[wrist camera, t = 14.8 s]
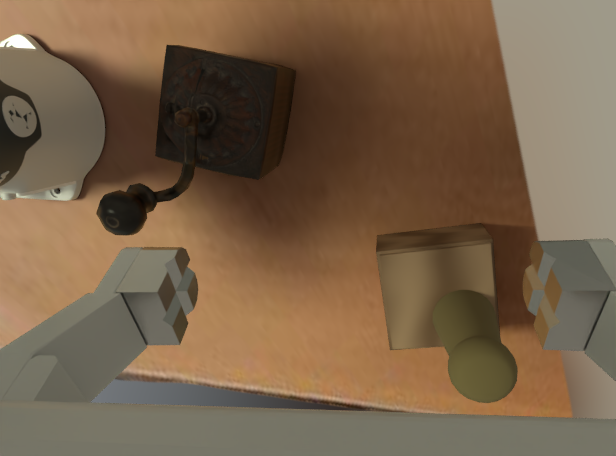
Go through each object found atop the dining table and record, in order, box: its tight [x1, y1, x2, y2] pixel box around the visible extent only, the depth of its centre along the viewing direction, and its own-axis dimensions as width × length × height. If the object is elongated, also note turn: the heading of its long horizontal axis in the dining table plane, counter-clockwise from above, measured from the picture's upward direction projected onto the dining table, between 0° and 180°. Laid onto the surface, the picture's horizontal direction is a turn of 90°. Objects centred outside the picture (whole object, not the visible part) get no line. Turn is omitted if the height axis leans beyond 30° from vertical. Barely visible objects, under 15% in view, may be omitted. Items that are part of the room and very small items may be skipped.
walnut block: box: [376, 223, 500, 350], centre depth 48 cm, size 11×11×6 cm
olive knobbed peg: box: [433, 290, 517, 403], centre depth 40 cm, size 6×6×11 cm
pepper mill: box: [96, 45, 296, 235], centre depth 42 cm, size 16×11×18 cm
